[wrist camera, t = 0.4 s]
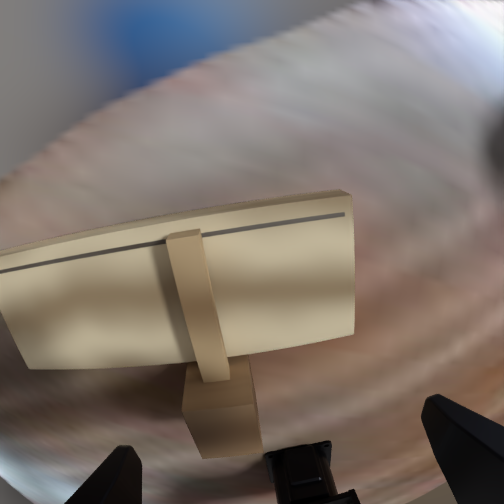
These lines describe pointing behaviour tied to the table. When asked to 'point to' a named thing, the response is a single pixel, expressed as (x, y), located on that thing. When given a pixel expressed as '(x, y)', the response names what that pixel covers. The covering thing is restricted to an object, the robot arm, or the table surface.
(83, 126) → the table surface
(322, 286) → the board
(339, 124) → the table surface
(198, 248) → the wooden mallet
